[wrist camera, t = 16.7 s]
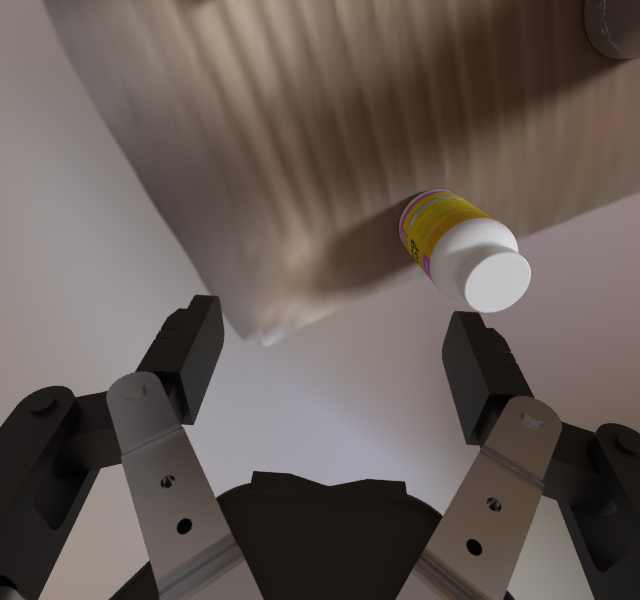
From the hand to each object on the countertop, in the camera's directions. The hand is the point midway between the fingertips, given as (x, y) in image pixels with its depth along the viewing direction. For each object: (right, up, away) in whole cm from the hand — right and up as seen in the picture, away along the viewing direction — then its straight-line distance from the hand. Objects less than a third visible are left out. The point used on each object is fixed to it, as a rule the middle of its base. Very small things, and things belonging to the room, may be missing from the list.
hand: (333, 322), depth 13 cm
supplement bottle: (+10, +8, +24) cm, 27 cm away
